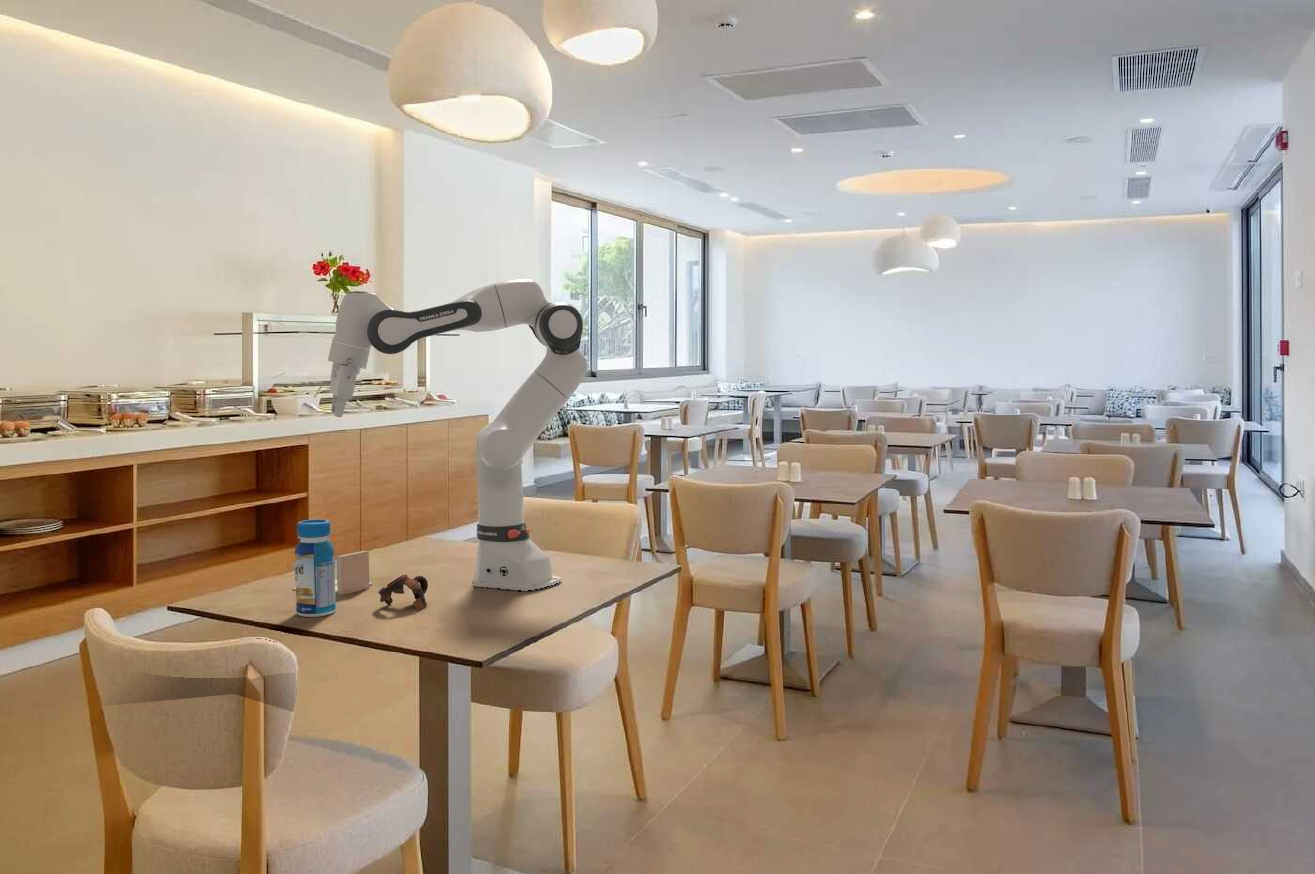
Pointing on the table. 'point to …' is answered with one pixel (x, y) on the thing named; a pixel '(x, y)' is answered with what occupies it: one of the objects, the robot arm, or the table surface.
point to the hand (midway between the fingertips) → (336, 414)
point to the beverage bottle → (314, 569)
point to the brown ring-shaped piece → (397, 587)
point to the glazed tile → (352, 572)
